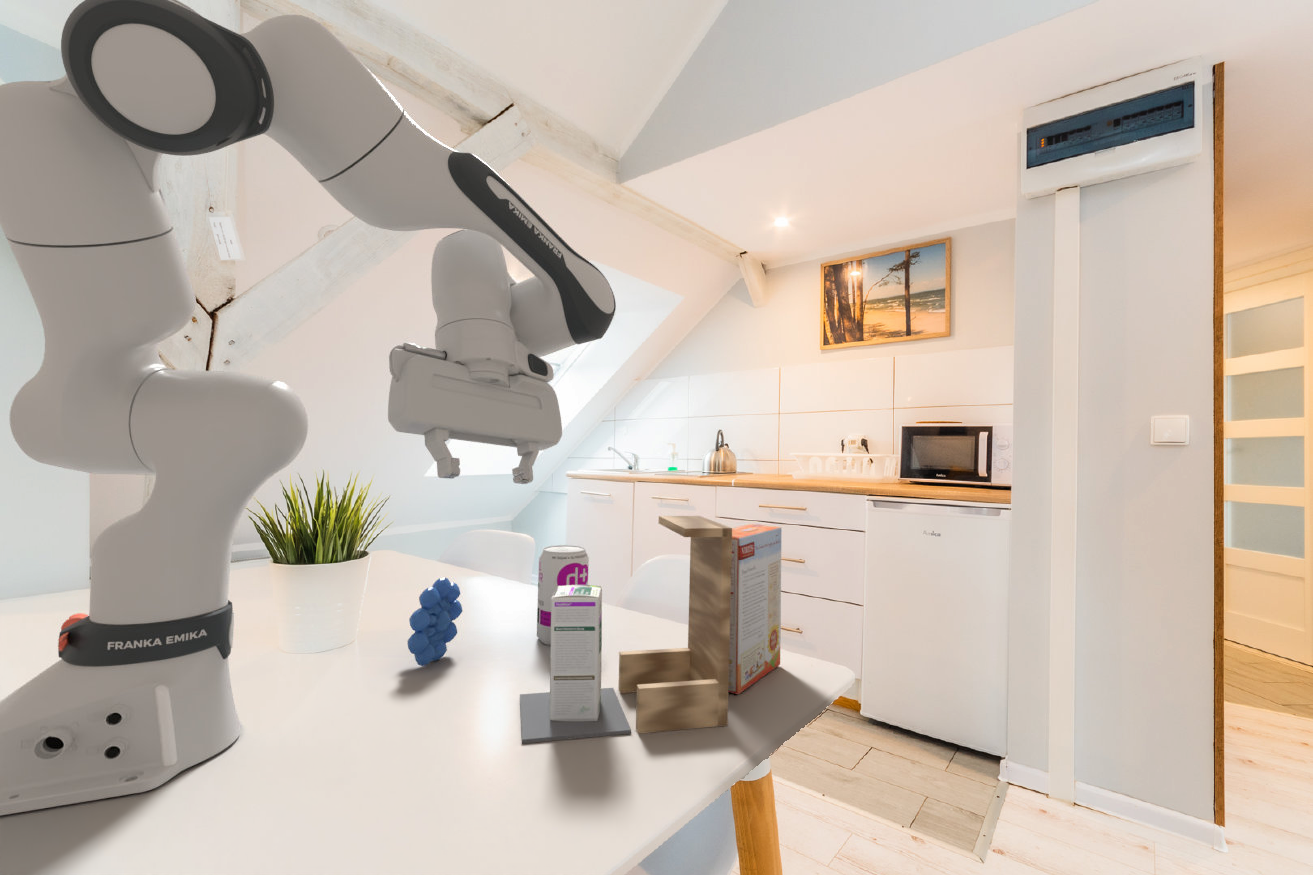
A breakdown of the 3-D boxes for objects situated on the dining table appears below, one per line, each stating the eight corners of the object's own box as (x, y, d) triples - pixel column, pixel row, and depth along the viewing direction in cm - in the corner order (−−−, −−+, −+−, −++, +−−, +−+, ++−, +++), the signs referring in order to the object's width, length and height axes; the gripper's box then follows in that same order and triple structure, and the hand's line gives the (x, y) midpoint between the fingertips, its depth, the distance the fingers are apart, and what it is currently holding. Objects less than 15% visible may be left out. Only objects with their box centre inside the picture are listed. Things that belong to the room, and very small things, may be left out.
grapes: (432, 645, 95) (434, 569, 95) (470, 649, 93) (473, 572, 94) (383, 671, 83) (386, 585, 84) (426, 676, 82) (428, 589, 82)
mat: (521, 743, 64) (521, 739, 64) (519, 697, 76) (520, 694, 76) (631, 733, 67) (631, 729, 67) (613, 690, 79) (613, 687, 79)
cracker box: (745, 657, 93) (748, 522, 93) (781, 666, 90) (784, 526, 90) (698, 685, 82) (702, 531, 82) (738, 696, 78) (741, 536, 78)
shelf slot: (637, 733, 67) (643, 528, 68) (618, 689, 79) (623, 516, 80) (727, 725, 70) (732, 528, 70) (695, 683, 82) (699, 515, 82)
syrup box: (598, 721, 69) (602, 595, 69) (547, 721, 69) (551, 595, 69) (601, 701, 75) (604, 584, 75) (553, 700, 74) (556, 583, 75)
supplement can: (595, 641, 99) (597, 550, 99) (548, 650, 94) (551, 554, 94) (573, 628, 105) (575, 543, 105) (528, 636, 101) (531, 546, 101)
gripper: (405, 325, 57) (413, 463, 54) (563, 369, 73) (577, 478, 70) (372, 350, 61) (377, 481, 57) (529, 387, 77) (541, 491, 73)
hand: (488, 480), depth 63 cm, fingers open, 8 cm apart
